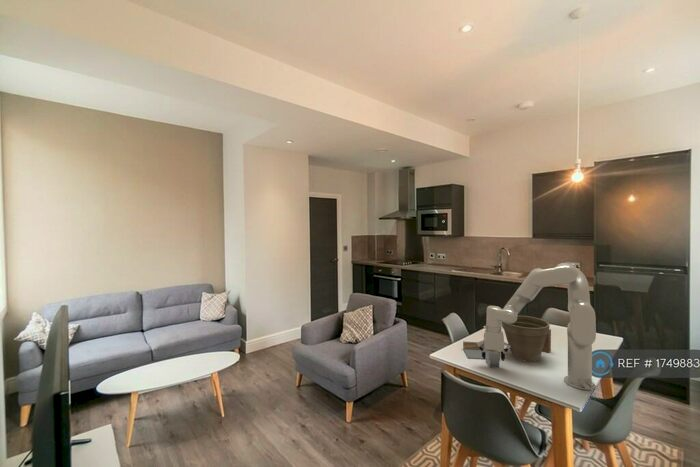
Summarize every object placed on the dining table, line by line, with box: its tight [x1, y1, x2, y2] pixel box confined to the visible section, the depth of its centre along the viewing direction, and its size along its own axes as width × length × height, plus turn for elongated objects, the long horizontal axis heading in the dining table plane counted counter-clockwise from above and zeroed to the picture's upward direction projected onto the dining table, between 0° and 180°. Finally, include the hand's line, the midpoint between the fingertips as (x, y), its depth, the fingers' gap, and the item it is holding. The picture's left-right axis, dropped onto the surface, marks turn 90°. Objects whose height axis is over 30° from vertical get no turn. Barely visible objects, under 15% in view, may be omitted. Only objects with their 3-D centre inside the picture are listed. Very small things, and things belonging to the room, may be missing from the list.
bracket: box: [485, 352, 500, 369], centre depth 172 cm, size 8×5×8 cm, turn 170°
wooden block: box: [542, 328, 552, 353], centre depth 192 cm, size 4×11×18 cm, turn 36°
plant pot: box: [501, 315, 551, 363], centre depth 181 cm, size 25×25×22 cm
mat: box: [463, 349, 501, 361], centre depth 185 cm, size 14×18×1 cm
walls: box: [462, 340, 501, 360], centre depth 185 cm, size 14×18×5 cm
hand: (493, 359), depth 169 cm, fingers open, 9 cm apart
